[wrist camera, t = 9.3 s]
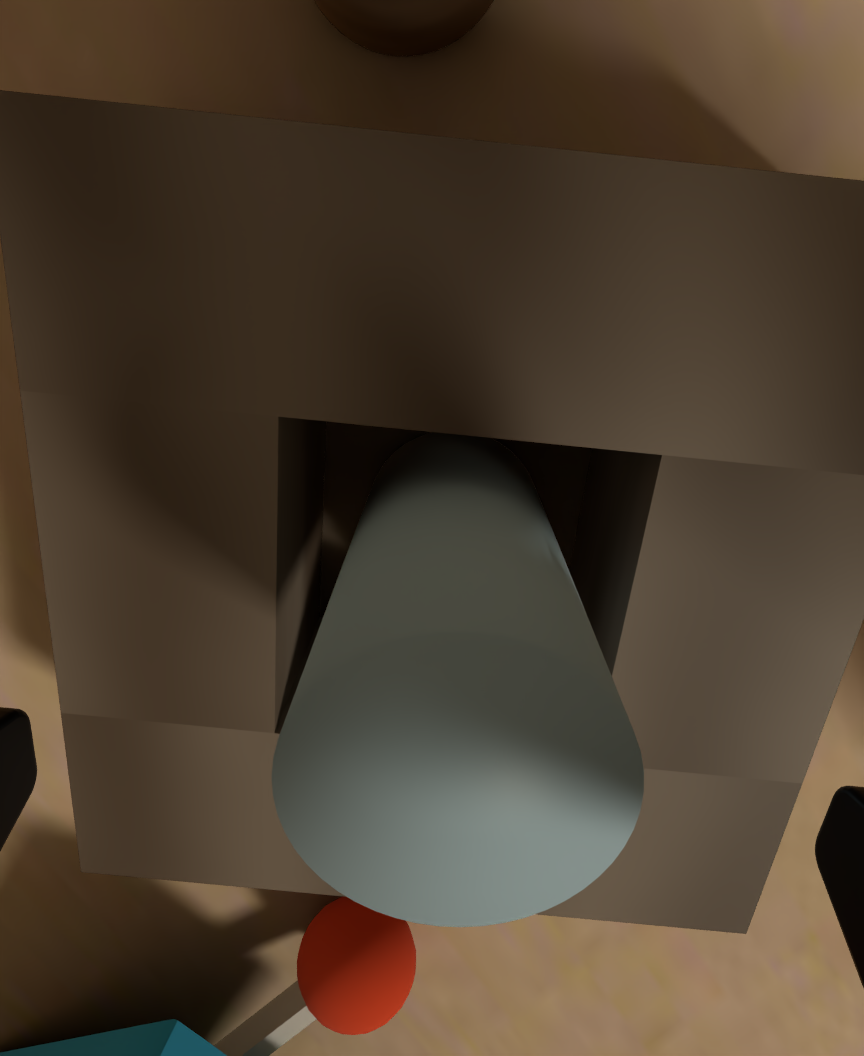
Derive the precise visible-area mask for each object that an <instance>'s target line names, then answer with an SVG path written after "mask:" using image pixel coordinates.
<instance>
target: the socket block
mask: <svg viewBox="0 0 864 1056" xmlns="http://www.w3.org/2000/svg"><path fill="white" fill-rule="evenodd" d="M0 236H1V244H2V252H3V260H4V268H5V276H6V284H7V292H8V299H9V307H10V315H11V323H12V331H13V339H14V347H15V355H16V363H17V370H18V378H19V386H20V394H21V402H22V410H23V418H24V426H25V434H26V441H27V449H28V457H29V465H30V473H31V481H32V489H33V497H34V505H35V512H36V520H37V528H38V536H39V544H40V552H41V560H42V568H43V576H44V584H45V591H46V599H47V607H48V615H49V623H50V631H51V639H52V647H53V655H54V662H55V670H56V678H57V686H58V694H59V702H60V710H61V718H62V726H63V733H64V741H65V749H66V757H67V765H68V773H69V781H70V789H71V797H72V804H73V812H74V820H75V828H76V836H77V844H78V852H79V860H80V868H81V872H86V873H97V874H108V875H118V876H129V877H140V878H151V879H161V880H172V881H183V882H194V883H205V884H215V885H226V886H237V887H248V888H258V889H269V890H280V891H291V892H301V893H312V894H323V895H334V896H344V897H346V896H345V895H343V894H341V893H340V892H338V891H337V890H335V889H334V888H333V887H331V886H330V885H329V884H328V883H326V882H325V881H324V880H322V879H321V878H320V877H319V876H318V875H317V874H316V873H315V872H314V871H313V870H312V869H311V868H310V867H309V866H308V865H307V864H306V863H305V862H304V860H303V859H302V858H301V857H300V855H299V854H298V853H297V852H296V850H295V849H294V847H293V846H292V844H291V842H290V840H289V839H288V837H287V835H286V834H285V832H284V829H283V827H282V825H281V822H280V820H279V817H278V815H277V811H276V807H275V802H274V798H273V790H272V766H273V757H274V753H275V749H276V745H277V741H278V738H279V735H280V732H281V730H282V727H283V724H284V721H285V719H286V716H287V713H288V711H289V708H290V705H291V703H292V700H293V697H294V695H295V692H296V689H297V686H298V684H299V681H300V678H301V676H302V673H303V670H304V668H305V665H306V662H307V660H308V657H309V654H310V651H311V649H312V646H313V643H314V641H315V638H316V635H317V633H318V630H319V627H320V625H321V622H322V619H323V618H320V617H319V604H320V578H321V553H322V527H323V501H324V476H325V450H326V424H327V421H328V422H338V423H348V424H358V425H368V426H378V427H388V428H398V429H408V430H418V431H428V432H438V433H448V434H458V435H468V436H478V437H488V438H498V439H508V440H518V441H528V442H538V443H548V444H558V445H568V446H578V447H588V448H592V452H591V458H590V463H589V468H588V474H587V479H586V484H585V490H584V495H583V500H582V506H581V511H580V516H579V522H578V527H577V532H576V538H575V543H574V548H573V554H572V559H571V564H570V570H569V572H570V575H571V577H572V579H573V582H574V584H575V587H576V589H577V592H578V594H579V597H580V599H581V602H582V604H583V607H584V609H585V612H586V614H587V617H588V619H589V621H590V624H591V626H592V629H593V631H594V634H595V636H596V639H597V641H598V644H599V646H600V649H601V651H602V654H603V656H604V659H605V661H606V664H607V666H608V668H609V671H610V673H611V676H612V678H613V681H614V683H615V686H616V688H617V691H618V693H619V696H620V698H621V701H622V703H623V706H624V708H625V711H626V713H627V715H628V718H629V720H630V723H631V725H632V728H633V730H634V733H635V736H636V739H637V742H638V745H639V748H640V751H641V756H642V762H643V768H644V793H643V799H642V805H641V810H640V813H639V816H638V819H637V822H636V825H635V828H634V830H633V832H632V834H631V836H630V837H629V839H628V841H627V843H626V845H625V847H624V848H623V849H622V851H621V852H620V854H619V855H618V856H617V858H616V859H615V860H614V862H613V863H612V864H611V865H610V866H609V867H608V868H607V869H606V870H605V871H604V872H603V873H602V874H601V875H600V876H599V877H598V878H597V879H596V880H595V881H593V882H592V883H591V884H590V885H588V886H587V887H586V888H585V889H583V890H582V891H580V892H579V893H577V894H575V895H574V896H572V897H571V898H569V899H567V900H566V901H564V902H562V903H560V904H558V905H556V906H554V907H552V908H550V909H547V910H545V911H542V912H540V913H537V914H538V915H549V916H560V917H571V918H581V919H592V920H603V921H614V922H624V923H635V924H646V925H657V926H667V927H678V928H689V929H700V930H710V931H721V932H732V933H743V934H746V933H747V930H748V927H749V925H750V922H751V919H752V917H753V914H754V911H755V909H756V906H757V903H758V901H759V898H760V895H761V893H762V890H763V887H764V885H765V882H766V879H767V877H768V874H769V871H770V868H771V866H772V863H773V860H774V858H775V855H776V852H777V850H778V847H779V844H780V842H781V839H782V836H783V834H784V831H785V828H786V826H787V823H788V820H789V818H790V815H791V812H792V810H793V807H794V804H795V802H796V799H797V796H798V794H799V791H800V788H801V785H802V783H803V780H804V777H805V775H806V772H807V769H808V767H809V764H810V761H811V759H812V756H813V753H814V751H815V748H816V745H817V743H818V740H819V737H820V735H821V732H822V729H823V727H824V724H825V721H826V719H827V716H828V713H829V710H830V708H831V705H832V702H833V700H834V697H835V694H836V692H837V689H838V686H839V684H840V681H841V678H842V676H843V673H844V670H845V668H846V665H847V662H848V660H849V657H850V654H851V652H852V649H853V646H854V644H855V641H856V638H857V635H858V633H859V630H860V627H861V625H862V622H863V619H864V181H861V180H851V179H842V178H832V177H822V176H813V175H803V174H794V173H784V172H775V171H765V170H756V169H746V168H737V167H727V166H718V165H708V164H698V163H689V162H679V161H670V160H660V159H651V158H641V157H632V156H622V155H613V154H603V153H593V152H584V151H574V150H565V149H555V148H546V147H536V146H527V145H517V144H508V143H498V142H489V141H479V140H469V139H460V138H450V137H441V136H431V135H422V134H412V133H403V132H393V131H384V130H374V129H365V128H355V127H345V126H336V125H326V124H317V123H307V122H298V121H288V120H279V119H269V118H260V117H250V116H240V115H231V114H221V113H212V112H202V111H193V110H183V109H174V108H164V107H155V106H145V105H136V104H126V103H116V102H107V101H97V100H88V99H78V98H69V97H59V96H50V95H40V94H31V93H21V92H12V91H2V90H0Z"/></svg>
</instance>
